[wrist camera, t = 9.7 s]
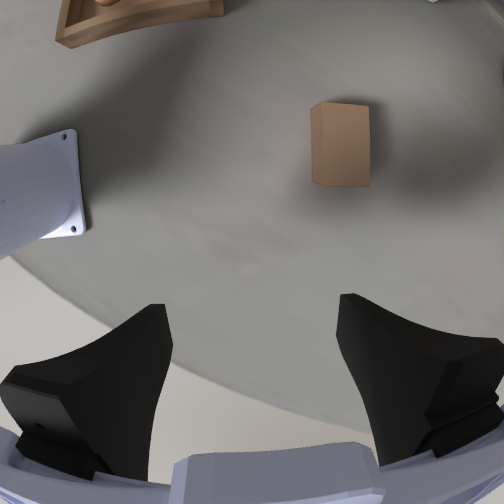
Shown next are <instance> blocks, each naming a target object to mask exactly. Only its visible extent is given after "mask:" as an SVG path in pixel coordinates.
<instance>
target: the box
mask: <svg viewBox="0 0 504 504" xmlns="http://www.w3.org/2000/svg"><path fill="white" fill-rule="evenodd" d="M220 16H224V0H63V1H62V5H61V10H60V15H59V20H58V25H57V31H56V37H55V41H56V42H58V43H60V44H62V45H64V46H66V47H68V48H70V49H73V48H76V47H78V46H81V45H84V44H87V43H90V42H93V41H96V40H99V39H102V38H106V37H109V36H112V35H116V34H120V33H123V32H127V31H131V30H135V29H140V28H144V27H149V26H154V25H159V24H164V23H170V22H176V21H183V20H190V19H199V18H208V17H220Z"/></svg>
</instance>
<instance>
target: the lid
mask: <svg viewBox="0 0 504 504" xmlns="http://www.w3.org/2000/svg"><path fill="white" fill-rule="evenodd" d="M310 115H311V143H312V182H315V183H317V184H320V185H322V186H363V187H370V125H369V106H362V105H353V104H342V103H329V102H321V103H319V104H317V105H316V106H314V107H313V108H311V109H310Z"/></svg>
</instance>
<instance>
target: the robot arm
mask: <svg viewBox="0 0 504 504" xmlns="http://www.w3.org/2000/svg"><path fill="white" fill-rule="evenodd" d="M65 134H66V135H67V138H66V140H65V139H64V136H65ZM74 226H75V227H76V231H75V230H74ZM85 231H86V223H85V216H84V209H83V202H82V194H81V185H80V174H79V162H78V147H77V132H76V130H74V129H67V130H64V131H60V132H57V133H54V134H50V135H47V136H44V137H41V138H38V139H35V140H32V141H29V142H26V143H24V144H10V145H0V260H2V259H3V258H5V257H7V256H9V255H10V254H12V253H14V252H16V251H17V250H19V249H21V248H23V247H25V246H26V245H28V244H30V243H32V242H34V241H36V240H38V239H44V238H54V237H64V236H74V235H82V234H83V233H85ZM336 337H337V341H338V344H339V347H340V350H341V353H342V356H343V358H344V360H345V362H346V364H347V367H348V369H349V371H350V373H351V375H352V377H353V379H354V381H355V383H356V385H357V387H358V389H359V392H360V394H361V396H362V399H363V402H364V405H365V408H366V411H367V415H368V418H369V422H370V425H371V429H372V433H373V437H374V441H375V446H376V450H377V455H378V461H379V467H378V465H377V463H376V460H375V457H374V455H373V452H372V449H371V448H369V447H367V446H365V445H362V444H360V443H357V442H344V443H331V444H324V445H318V446H311V447H303V448H295V449H286V450H274V451H261V452H235V453H234V452H233V453H207V454H196V455H191V456H189V457H187V458H185V459H183V460H181V461H179V462H177V463H175V464H174V470H173V476H172V482H171V485H168V484H160V483H153V482H148V462H149V450H150V441H151V433H152V427H153V421H154V414H155V410H156V406H157V402H158V399H159V396H160V393H161V390H162V387H163V384H164V381H165V378H166V374H167V371H168V368H169V365H170V360H171V355H172V348H173V341H172V337H171V332H170V328H169V323H168V318H167V313H166V308H165V304H150V305H148V306H147V307H145V308H144V309H142V310H141V311H139V312H138V313H136V314H135V315H134V316H132V317H131V318H129V319H128V320H127V321H125V322H124V323H122V324H121V325H120V326H118V327H117V328H115V329H113V330H112V331H110V332H109V333H107V334H106V335H104V336H103V337H101V338H99V339H97V340H95V341H94V342H92V343H90V344H88V345H86V346H84V347H81V348H79V349H76V350H74V351H72V352H69V353H67V354H64V355H61V356H59V357H55V358H52V359H48V360H45V361H40V362H36V363H30V364H24V365H17V366H14V368H13V369H12V370H11V372H10V373H9V374H8V375H7V376H6V378H5V379H4V380H3V381H2V383H1V384H0V397H1V400H2V402H3V404H4V405H5V407H6V409H7V410H8V412H9V413H10V414H11V416H12V417H13V418H14V420H15V421H16V423H17V424H18V425H19V427H20V428H21V429H22V431H23V433H22V435H21V437H19V436H17V435H16V434H15V433H13V432H12V431H10V430H7V429H5V428H3V427H1V426H0V497H1V498H2V499H3V500H4V501H6V502H7V503H8V504H474V503H475V502H477V501H479V500H480V499H482V498H483V497H485V496H486V495H487V494H489V493H490V492H492V491H493V490H494V489H496V488H497V487H499V486H500V485H501V484H503V483H504V404H503V405H502V406H501V408H500V407H499V406H498V405H497V403H496V402H498V400H499V396H498V395H497V394H496V393H495V391H496V389H497V387H498V385H499V383H500V381H501V379H502V377H503V376H504V344H503V343H502V342H501V341H500V340H498V339H497V338H482V337H469V336H462V335H456V334H451V333H446V332H442V331H438V330H434V329H431V328H428V327H425V326H422V325H419V324H417V323H414V322H411V321H409V320H407V319H405V318H402V317H400V316H398V315H396V314H394V313H392V312H390V311H388V310H386V309H384V308H382V307H380V306H379V305H377V304H375V303H373V302H371V301H369V300H367V299H366V298H364V297H362V296H360V295H357V294H355V293H352V294H341V295H340V305H339V314H338V323H337V331H336Z"/></svg>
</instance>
